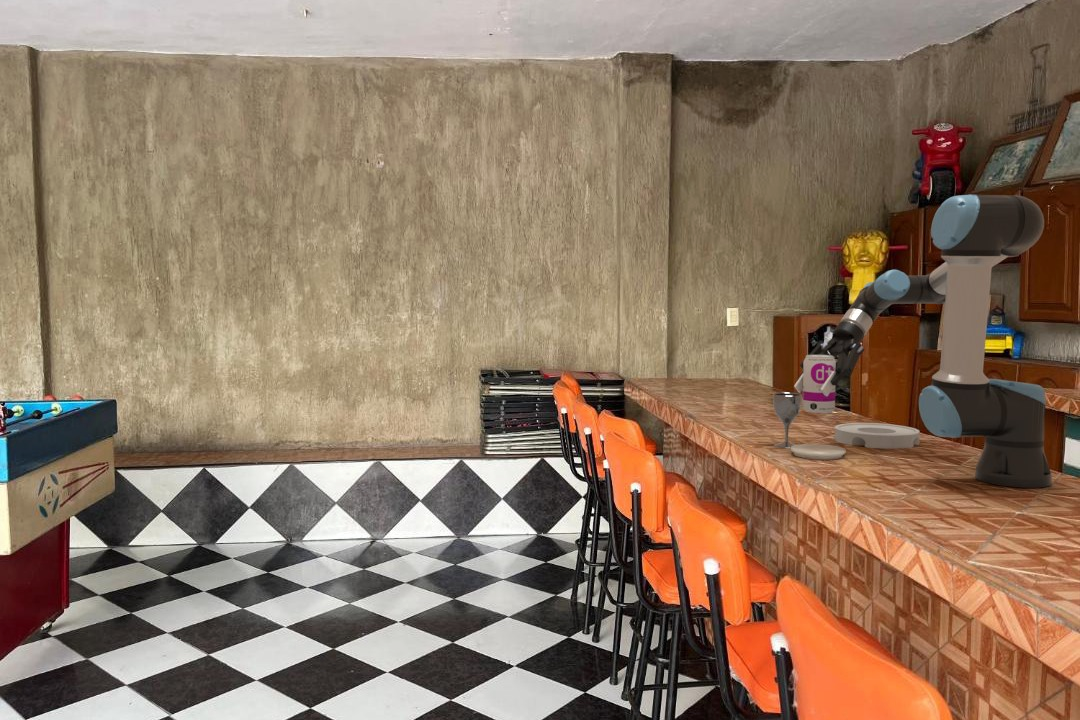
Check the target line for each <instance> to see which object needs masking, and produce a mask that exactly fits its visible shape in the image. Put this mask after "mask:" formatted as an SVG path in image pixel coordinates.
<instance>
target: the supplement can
mask: <svg viewBox="0 0 1080 720" xmlns="http://www.w3.org/2000/svg"><path fill="white" fill-rule="evenodd" d="M803 361H804V363H803V369H802V372H803V391H802V410H804V412H807V413H813V414H830V413H833V411H835V409H836V385H835V386H834V387H833V389H832V390H831V392H830V393H829V395H828V396H825V395H824V394H823V392H822V391H821V390H820V389H821V387H822V386H823V384H824V383H825V381H826V380H827V378H828V377H829V375H830V374H831V373H832V371H835V372H836V370H835V369H836V367H837V360H836V359H835V356H834V357H833V356H832V355H809V354H807V355H805V358H804V360H803Z"/></svg>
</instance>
